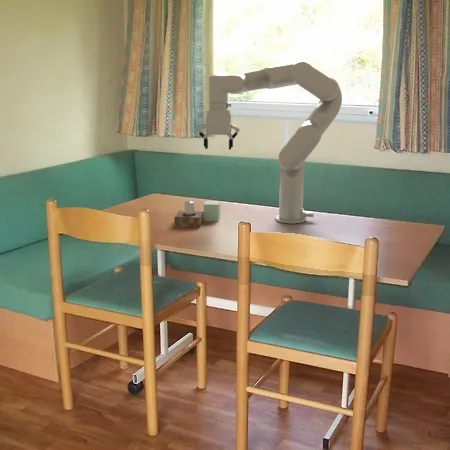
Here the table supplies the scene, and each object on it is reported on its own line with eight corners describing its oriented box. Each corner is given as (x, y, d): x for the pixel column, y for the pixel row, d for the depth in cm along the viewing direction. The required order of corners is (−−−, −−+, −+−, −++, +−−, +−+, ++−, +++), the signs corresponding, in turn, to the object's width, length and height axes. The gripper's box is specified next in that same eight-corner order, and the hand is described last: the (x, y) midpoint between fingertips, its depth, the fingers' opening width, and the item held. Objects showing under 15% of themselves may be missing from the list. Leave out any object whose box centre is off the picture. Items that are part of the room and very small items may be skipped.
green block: (220, 217, 264) (220, 201, 262) (218, 221, 258) (218, 204, 256) (205, 217, 264) (205, 201, 262) (203, 221, 258) (203, 204, 257)
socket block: (203, 221, 258) (203, 211, 257) (199, 227, 248) (199, 217, 247) (179, 220, 259) (179, 210, 258) (174, 226, 249) (174, 216, 248)
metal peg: (195, 222, 255) (194, 201, 253) (193, 225, 252) (193, 203, 249) (185, 222, 256) (185, 200, 253) (184, 225, 252) (183, 202, 250)
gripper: (240, 105, 256) (240, 148, 261) (198, 105, 258) (198, 147, 263) (239, 107, 249) (238, 150, 254) (195, 106, 251) (195, 149, 256)
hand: (218, 148), depth 258 cm, fingers open, 9 cm apart
